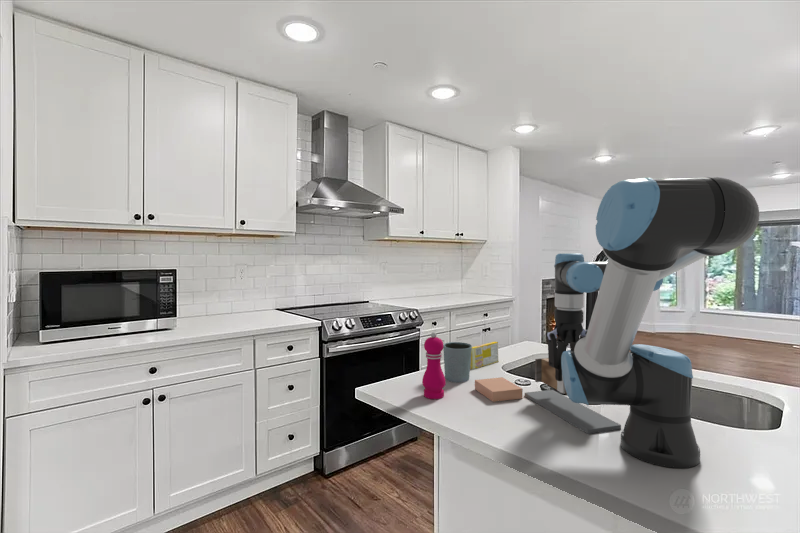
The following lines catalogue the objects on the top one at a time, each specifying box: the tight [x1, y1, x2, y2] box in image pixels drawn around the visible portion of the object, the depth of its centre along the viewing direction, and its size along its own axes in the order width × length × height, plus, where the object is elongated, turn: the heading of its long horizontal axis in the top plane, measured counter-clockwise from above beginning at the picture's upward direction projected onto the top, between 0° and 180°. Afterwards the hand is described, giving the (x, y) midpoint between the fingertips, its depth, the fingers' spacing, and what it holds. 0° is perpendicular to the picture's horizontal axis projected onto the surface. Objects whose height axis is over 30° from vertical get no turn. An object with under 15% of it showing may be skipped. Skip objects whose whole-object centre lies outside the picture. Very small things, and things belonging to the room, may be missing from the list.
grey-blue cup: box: [442, 341, 473, 383], centre depth 147 cm, size 10×10×12 cm
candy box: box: [470, 341, 499, 370], centre depth 165 cm, size 16×2×8 cm, turn 130°
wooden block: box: [534, 357, 595, 406], centre depth 118 cm, size 21×7×7 cm, turn 16°
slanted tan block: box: [474, 377, 524, 403], centre depth 132 cm, size 4×10×12 cm
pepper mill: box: [421, 331, 447, 400], centre depth 130 cm, size 7×7×20 cm
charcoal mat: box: [524, 389, 622, 434], centre depth 118 cm, size 28×10×1 cm, turn 16°
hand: (567, 391), depth 118 cm, fingers closed on wooden block, 3 cm apart
